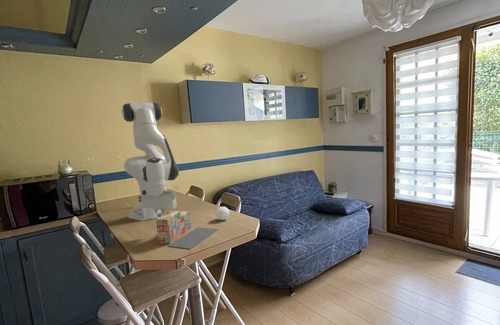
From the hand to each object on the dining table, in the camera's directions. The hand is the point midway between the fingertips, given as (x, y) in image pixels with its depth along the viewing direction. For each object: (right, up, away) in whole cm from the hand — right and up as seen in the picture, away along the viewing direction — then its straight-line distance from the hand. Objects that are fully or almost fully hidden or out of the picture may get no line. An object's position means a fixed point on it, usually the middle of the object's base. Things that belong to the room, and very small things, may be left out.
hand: (160, 216), depth 137 cm
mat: (+19, -9, -7) cm, 22 cm away
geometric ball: (+30, -5, +17) cm, 35 cm away
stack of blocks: (+8, -9, -2) cm, 13 cm away
